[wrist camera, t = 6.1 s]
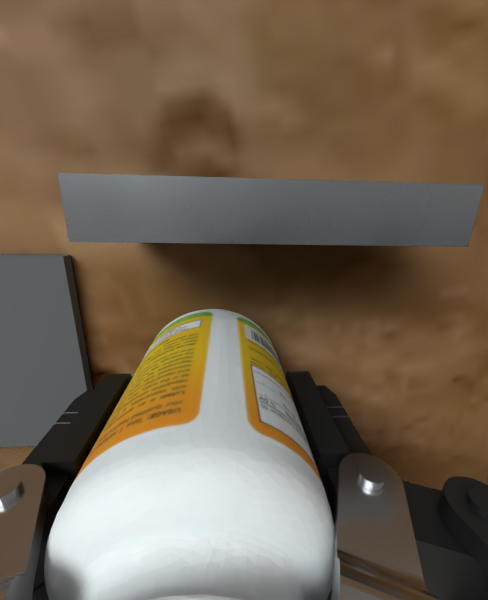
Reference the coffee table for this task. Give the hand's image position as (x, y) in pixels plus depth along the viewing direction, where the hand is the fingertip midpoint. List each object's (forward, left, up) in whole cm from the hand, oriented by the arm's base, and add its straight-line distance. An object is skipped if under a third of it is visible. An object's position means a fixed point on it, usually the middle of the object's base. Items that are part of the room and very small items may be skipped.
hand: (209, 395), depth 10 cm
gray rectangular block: (+9, 0, -3) cm, 9 cm away
